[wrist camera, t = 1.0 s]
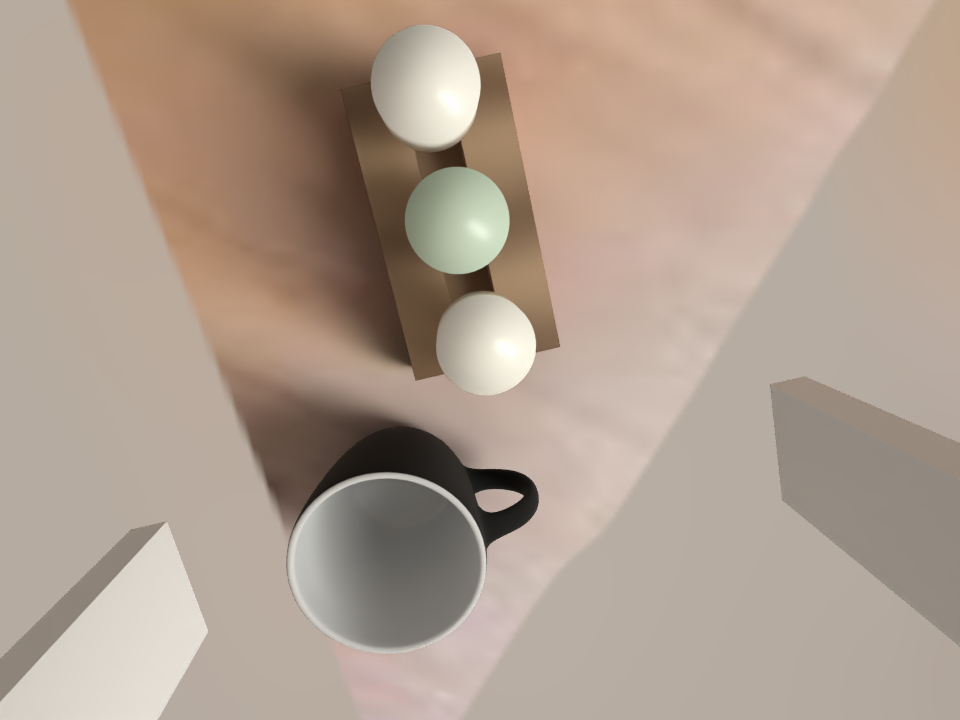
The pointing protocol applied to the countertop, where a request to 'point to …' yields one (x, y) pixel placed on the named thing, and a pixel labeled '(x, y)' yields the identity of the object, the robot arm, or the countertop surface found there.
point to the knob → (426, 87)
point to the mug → (398, 542)
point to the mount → (395, 178)
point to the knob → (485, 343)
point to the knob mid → (457, 220)
